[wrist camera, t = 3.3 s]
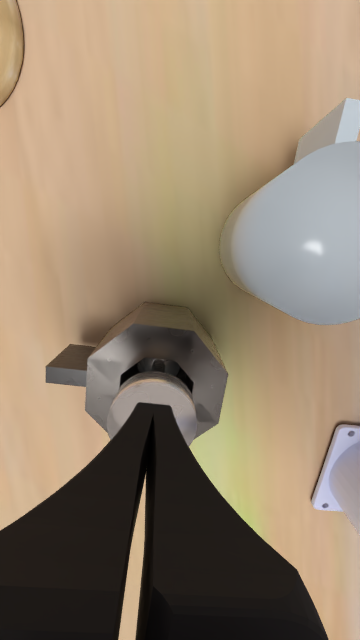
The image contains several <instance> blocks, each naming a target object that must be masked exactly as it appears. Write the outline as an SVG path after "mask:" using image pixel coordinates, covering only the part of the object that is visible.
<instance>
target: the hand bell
mask: <svg viewBox="0 0 360 640" xmlns="http://www.w3.org/2000/svg"><path fill="white" fill-rule="evenodd" d="M23 50H24V45H23V30H22V23H21V17H20V13H19V9H18V5H17V2H16V0H0V106H1V105H2V104H3V103H4V102H5V101H6V99H7V98H8V97H9V95H10V94H11V92H12V91H13V89H14V87H15V84H16V82H17V80H18V77H19V73H20V69H21V65H22V60H23Z"/></svg>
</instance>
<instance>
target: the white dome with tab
mask: <svg viewBox="0 0 360 640" xmlns="http://www.w3.org/2000/svg"><path fill="white" fill-rule="evenodd" d="M359 129H360V100H355V99H350V98H346V99H345V100H343V101H342V102H341V103H340V104H339V105H338V106H337V107H335V108H334V109H333V110H332V111H331V112H330V113H329V114H327V115H326V116H325V117H324V118H323V119H322V120H321V121H319V122H318V123H317V124H316V125H315V126H314V127H313V128H312V129H310V130H309V131H308V132H307V133H306V134H305V135H304V136H302V137H301V138H300V139H299V143H298V147H297V152H296V156H295V161H294V165H292V166H291V167H290V168H288V169H287V170H285V171H284V172H283V173H281V174H280V175H278V176H277V177H276V178H274V179H273V180H271V181H270V182H269V183H267V184H266V185H264V186H263V187H262V188H260V189H259V190H257V191H256V192H254V193H253V194H252V195H250V196H249V197H247V198H246V199H245V200H243V201H242V202H241V203H240V204H239V205H237V206H236V207H235V209H234V210H233V211H232V212H231V214H230V215H229V216H228V218H227V220H226V222H225V224H224V226H223V229H222V232H221V236H220V243H219V253H220V259H221V263H222V266H223V268H224V271H225V272H226V274H227V276H228V277H229V278H230V280H231V281H232V282H233V283H234V284H235V285H236V286H237V287H239V288H240V289H242V290H244V291H246V292H247V293H249V294H251V295H253V296H255V297H257V298H259V299H260V300H262V301H264V302H266V303H268V304H270V305H272V306H273V307H275V308H277V309H279V310H281V311H283V312H285V313H286V314H288V315H290V316H292V317H294V318H296V319H298V320H301V321H304V322H307V323H312V324H318V325H335V324H342V323H347V322H350V321H354V320H357V319H359V318H360V141H356V140H357V136H358V133H359Z"/></svg>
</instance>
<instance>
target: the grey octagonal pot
mask: <svg viewBox="0 0 360 640" xmlns="http://www.w3.org/2000/svg"><path fill="white" fill-rule="evenodd" d="M144 357H146V358H155V359H164V360H173V361H176V362H177V363H178V364H179V366H180V369H179V372H178V374H177V375H176V378H178V379H180V380H181V381H182V382H183V383H184V384H185V385H186V386H187V387H188V389H189V390H190V392H191V394H192V396H193V400H194V405H195V412H196V418H197V430H196V434H195V437H194V439H195V438H197V437H198V436H200V435H201V434H203V433H204V432H206V431H207V430H209V429H210V428H212V427H213V426H215V425H216V424H218V422H219V417H220V412H221V407H222V402H223V397H224V392H225V387H226V382H227V377H228V373H227V371H226V368H225V366H224V364H223V362H222V360H221V358H220V356H219V353H218V351H217V349H216V347H215V345H214V343H213V340H212V339H211V337H210V336H209V335H208V333H207V332H206V331H205V330H204V328H203V327H202V326H201V324H200V323H199V322H198V321H197V319H196V318H195V317H194V315H193V314H192V313H191V311H190V310H189V309H188V308H187V307H180V306H173V305H165V304H157V303H149V302H144V303H143V304H142V305H140V306H139V307H138V308H136V309H135V310H134V311H133V312H131V313H130V314H129V315H127V316H126V317H125V318H123V319H122V320H121V321H120V322H118V323H117V324H116V325H114V326H113V327H112V328H111V329H110V331H109V332H108V333H107V334H106V336H105V337H104V338H103V340H102V341H101V342H100V343H99V345H98V346H97V347H92V346H83V345H74V344H70V345H69V346H68V347H67V348H65V349H64V350H63V351H62V352H61V353H60V354H59V355H58V356H57V357H56V358H55V359H53V360H52V361H51V362H50V363H49V364H48V365H47V366H46V383H54V384H64V385H74V386H83V387H86V402H85V411H86V412H87V413H88V414H89V415H90V416H91V417H92V418H93V419H94V420H95V421H96V422H97V423H98V424H99V425H100V426H101V427H102V428H103V429H104V430H105V431H106V432H107V433H108V431H107V417H108V414H109V411H110V408H111V406H112V403H113V400H114V398H115V395H116V393H117V391H118V390H119V388H120V387H121V385H122V384H123V383H124V382H126V381H127V380H128V379H129V378H131V377H133V376H135V375H137V374H140V372H139V370H138V362H139V361H140V360H142V359H143V358H144ZM194 439H193V440H194Z"/></svg>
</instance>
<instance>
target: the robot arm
mask: <svg viewBox="0 0 360 640" xmlns="http://www.w3.org/2000/svg"><path fill="white" fill-rule="evenodd" d="M146 468H147V469H146ZM145 475H146V502H145V542H144V557H143V568H142V578H141V589H140V599H139V609H138V620H137V630H136V640H328V637H327V634H326V632H325V629H324V627H323V624H322V622H321V620H320V617H319V615H318V612H317V610H316V608H315V606H314V603H313V601H312V599H311V597H310V595H309V593H308V591H307V589H306V587H305V585H304V583H303V581H302V579H301V577H300V575H299V573H298V571H297V569H296V568H294V567H293V566H292V565H291V564H290V563H289V562H288V561H287V560H285V559H284V558H283V557H282V556H281V555H280V554H279V553H278V552H276V551H275V550H274V549H273V548H272V547H271V546H270V545H269V544H267V543H266V542H265V541H264V540H263V539H262V538H261V537H260V536H259V535H258V534H257V533H256V532H255V531H254V530H253V529H252V528H251V527H250V526H249V525H248V524H247V523H246V522H245V521H244V520H243V519H242V518H241V517H240V516H239V515H238V514H237V513H236V511H235V510H234V509H233V508H232V507H231V506H230V505H229V503H228V502H227V501H226V500H225V499H224V498H223V497H222V495H221V494H220V493H219V492H218V490H217V489H216V488H215V486H214V485H213V484H212V482H211V481H210V480H209V478H208V477H207V475H206V474H205V473H204V471H203V470H202V468H201V467H200V465H199V464H198V462H197V460H196V459H195V457H194V455H193V454H192V452H191V450H190V448H189V447H188V445H187V443H186V441H185V439H184V437H183V435H182V433H181V431H180V429H179V426H178V424H177V422H176V419H175V417H174V414H173V410H172V408H171V406H170V405H163V404H153V403H143V402H139V403H137V404H136V406H135V408H134V410H133V411H132V413H131V414H130V416H129V417H128V419H127V420H126V422H125V423H124V424H123V426H122V427H121V428H120V430H119V431H118V432H117V434H116V435H115V436H114V437H113V438H112V439H111V441H110V442H109V443H108V444H107V445H106V446H105V447H104V448H103V450H102V451H101V452H100V453H99V454H98V455H97V456H96V457H95V458H94V459H93V460H92V461H91V462H90V463H89V464H88V465H87V466H86V467H85V468H83V469H82V470H81V471H80V472H79V473H78V474H77V475H76V476H74V477H73V478H72V479H71V480H70V481H69V482H67V483H66V484H65V485H64V486H63V487H61V488H60V489H59V490H58V491H56V492H55V493H54V494H53V495H51V496H50V497H49V498H47V499H46V500H44V501H43V502H42V503H40V504H39V505H37V506H36V507H35V508H33V509H32V510H31V511H29V512H28V513H26V514H25V515H24V516H22V517H21V518H19V519H18V520H16V521H15V522H13V523H12V524H10V525H9V526H7V527H5V528H4V529H2V530H1V531H0V640H118V637H119V629H120V622H121V614H122V607H123V599H124V592H125V585H126V577H127V570H128V562H129V555H130V548H131V543H132V537H133V532H134V527H135V522H136V518H137V513H138V508H139V503H140V499H141V494H142V489H143V484H144V479H145ZM311 503H312V505H313V507H314V508H315V509H318V510H330V511H343V512H344V513H345V515H346V516H347V518H348V519H349V521H350V522H351V524H352V525H353V527H354V528H355V530H356V531H357V533H358V534H359V536H360V426H355V425H346V424H342V425H339V426H338V427H337V428H336V430H335V433H334V436H333V439H332V442H331V445H330V448H329V451H328V454H327V457H326V460H325V463H324V466H323V469H322V472H321V474H320V477H319V480H318V483H317V486H316V489H315V492H314V495H313V498H312V501H311Z"/></svg>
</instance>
